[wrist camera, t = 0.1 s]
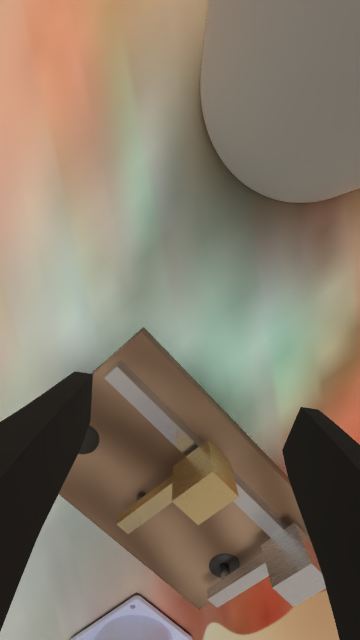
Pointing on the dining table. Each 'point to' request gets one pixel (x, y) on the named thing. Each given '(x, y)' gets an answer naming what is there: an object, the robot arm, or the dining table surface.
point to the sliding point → (187, 489)
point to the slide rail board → (170, 474)
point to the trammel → (286, 541)
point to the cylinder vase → (284, 94)
